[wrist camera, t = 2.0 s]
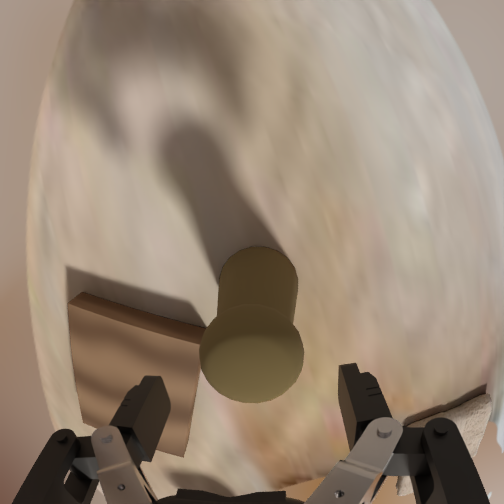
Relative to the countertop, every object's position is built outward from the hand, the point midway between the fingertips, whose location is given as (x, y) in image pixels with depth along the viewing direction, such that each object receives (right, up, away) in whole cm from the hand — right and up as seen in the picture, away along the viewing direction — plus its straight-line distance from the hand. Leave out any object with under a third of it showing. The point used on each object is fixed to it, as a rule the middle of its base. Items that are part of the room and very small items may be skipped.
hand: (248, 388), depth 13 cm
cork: (+1, +4, +11) cm, 12 cm away
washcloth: (+25, -20, +17) cm, 36 cm away
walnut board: (-11, -6, +15) cm, 19 cm away
